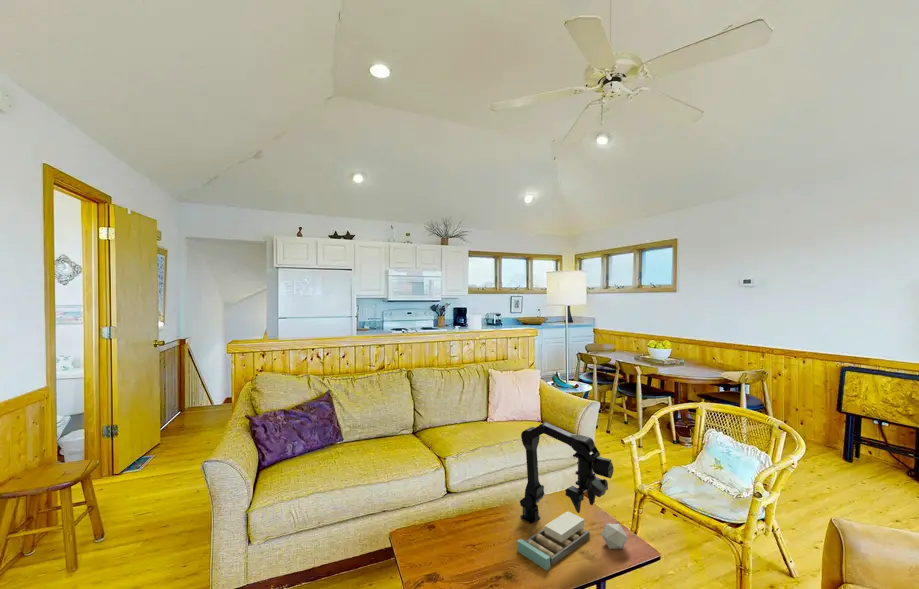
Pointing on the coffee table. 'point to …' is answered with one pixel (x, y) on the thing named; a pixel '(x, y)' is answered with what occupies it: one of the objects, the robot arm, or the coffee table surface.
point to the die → (614, 536)
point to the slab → (564, 526)
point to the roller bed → (555, 547)
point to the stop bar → (533, 554)
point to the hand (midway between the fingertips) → (584, 508)
